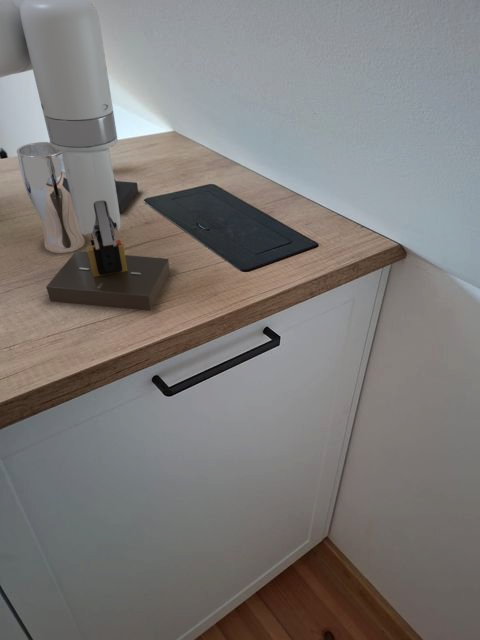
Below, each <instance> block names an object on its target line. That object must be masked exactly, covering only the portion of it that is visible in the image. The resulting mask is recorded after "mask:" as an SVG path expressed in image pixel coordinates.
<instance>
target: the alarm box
mask: <svg viewBox="0 0 480 640" xmlns="http://www.w3.org/2000/svg"><path fill="white" fill-rule="evenodd" d="M114 180H115V186H116V192H117V198H118V205H119V213H120V215H123V214H124V212H125V211H126V210H127V208H128V207H129V206H130V204H132V202H133V201H134V200H135V198H137V195H138V194H139V187H138V182H135V181H122V180H121V181H120V180H117V179H116V178H115V177H114Z"/></svg>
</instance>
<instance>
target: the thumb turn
mask: <svg viewBox="0 0 480 640" xmlns="http://www.w3.org/2000/svg"><path fill="white" fill-rule="evenodd" d="M116 242H117V244H118V247H119V252H120V258H121V264H122V271H121V272H124V271H128V270H127V265H126V259H125V255H126V253H125V247H124V244H123V242H122V240H121V239H116ZM93 247H95V245H87V246H86V250H87V252H88V255H89V259H90V264H91V268H92V272H93V276H94V277H96V276H102V275H100V274H99V273H98V269H97V264H96V260H95V255H94V250H93ZM117 273H119V272H117ZM111 274H113V273H111ZM105 275H107V274H105Z"/></svg>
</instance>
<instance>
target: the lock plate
mask: <svg viewBox="0 0 480 640" xmlns="http://www.w3.org/2000/svg"><path fill="white" fill-rule="evenodd" d="M125 259H126V265H127V270H128V271H124V272H119V273H113V274H107V275H102V276H96V277H94V276H93V272H92V268H91V264H90V259H89V255H88V251H84V250H83V251H81V250H75V251H74V253H73V254H72V256H71V257H70V258H69V259H67V261H66V263H65V264H64V265H63V266H62V267H61V269H59V271H58V272H57V273H56V274H55V276H53V278H52V279H51V280H50V282H49V283H48V284H47V285H46V286H45V287H46V288H45V289H46V291H47V294H48V297H49V298H48V299H49V301H50V302H54V303H62V304H63V303H64V304H74V305H83V306H84V305H85V306H96V307H105V308H106V307H107V308H117V309H128V310H130V309H131V310H138V311H150V312H151V311H152V309H153V307H154V306H155V303H156V301H157V299H158V297H159V295H160V293H161V291H162V289H163V287H164V285H165V284H166V281H167V280H168V277H169V275H170V272H171V271H170V262H169V258H164V257H152V256H143V255H129V254H125Z"/></svg>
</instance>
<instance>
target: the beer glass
mask: <svg viewBox="0 0 480 640" xmlns="http://www.w3.org/2000/svg"><path fill="white" fill-rule="evenodd" d="M16 155H17V159H18V165H19V169H20V173H21V174H20V175H21V178H22V181H23V185H24V188H25V191H26V194H27V195H28V198H29V200H30V202H31V205H32V207H33V209H34V211H35V213H36V215H37V217H38V219H39V221H40V224H41V227H42V231H43V243H44V247H45V250H47V251H48V252H51V253H55V254H64V253H71V252H76V251H78V250H79V249H81V248H82V247H83V246H84V245H85V243H86V241H85V238H84V235H83V234H82V233H81V232H80V229H79V226H78V223H77V220H76V216H75V213H74V209H73V204H72V199H71V195H70V191H69V186H68V182H67V178H66V173H65V168H64V163H63V158H62V151H60V150H57V149H55V148H53V147H52V146H51V144H50V141H37V142H30V143H28V144H27V143H26V144H23V145H21V146H20V147H18V148H17V149H16Z"/></svg>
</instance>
